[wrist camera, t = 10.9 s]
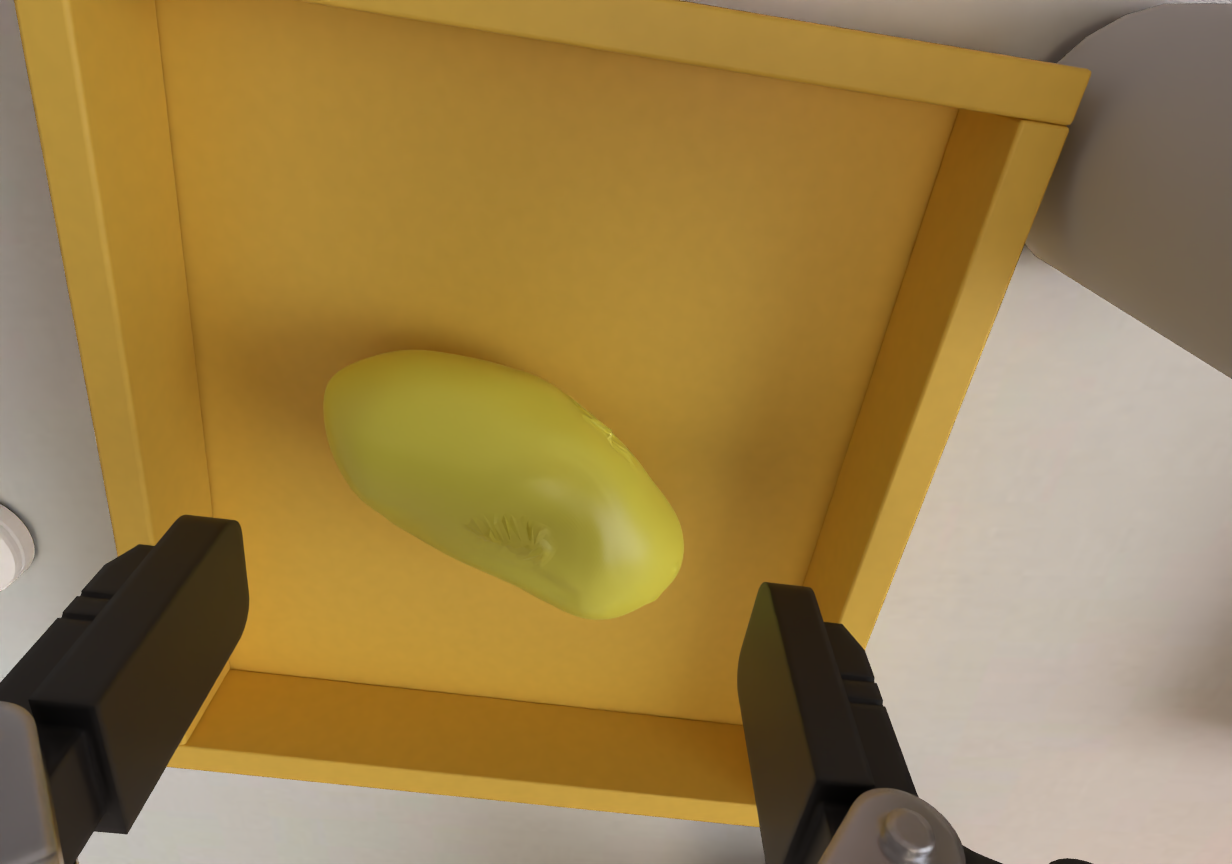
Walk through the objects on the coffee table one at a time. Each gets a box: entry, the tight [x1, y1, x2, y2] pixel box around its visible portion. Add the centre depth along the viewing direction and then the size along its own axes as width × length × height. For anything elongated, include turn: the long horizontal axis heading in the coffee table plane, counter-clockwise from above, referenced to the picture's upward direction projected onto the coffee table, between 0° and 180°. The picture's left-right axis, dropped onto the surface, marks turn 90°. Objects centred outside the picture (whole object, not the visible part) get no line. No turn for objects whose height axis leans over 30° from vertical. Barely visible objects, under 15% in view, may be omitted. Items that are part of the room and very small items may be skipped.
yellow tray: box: [14, 0, 1091, 827], centre depth 17 cm, size 18×16×3 cm
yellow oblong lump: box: [323, 350, 684, 620], centre depth 16 cm, size 4×8×4 cm, turn 50°
